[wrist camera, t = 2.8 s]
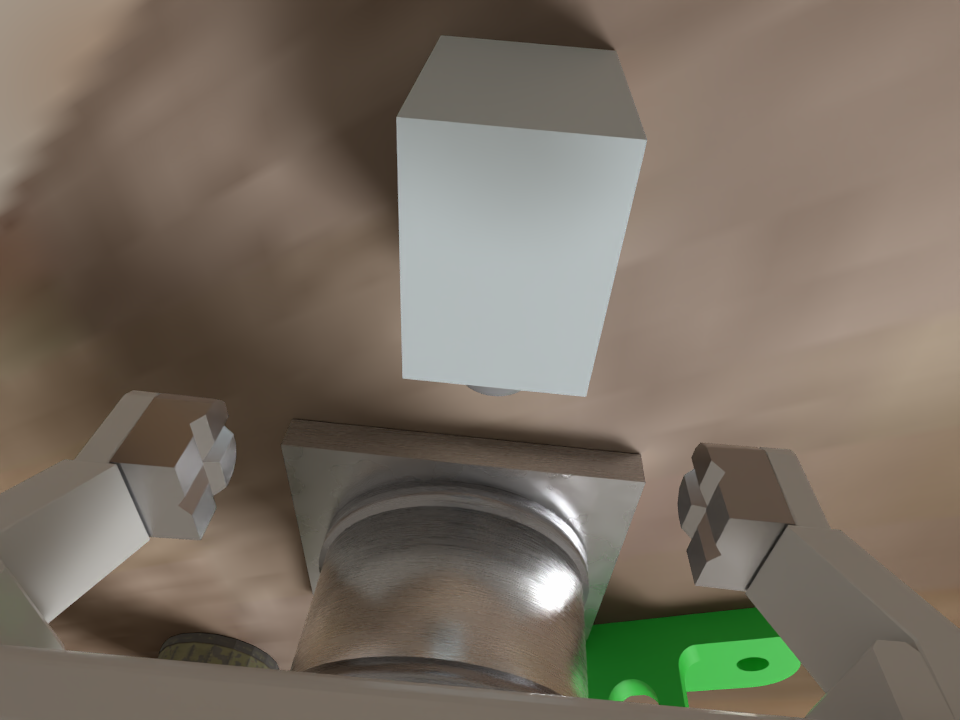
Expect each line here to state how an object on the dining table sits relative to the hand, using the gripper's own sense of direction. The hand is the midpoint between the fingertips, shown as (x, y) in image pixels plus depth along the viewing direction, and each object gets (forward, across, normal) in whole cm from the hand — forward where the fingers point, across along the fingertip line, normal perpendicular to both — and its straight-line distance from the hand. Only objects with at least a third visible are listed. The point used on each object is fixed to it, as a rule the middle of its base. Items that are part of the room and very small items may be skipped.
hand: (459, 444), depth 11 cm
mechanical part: (+13, -14, +29) cm, 35 cm away
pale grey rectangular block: (+12, -1, 0) cm, 12 cm away
